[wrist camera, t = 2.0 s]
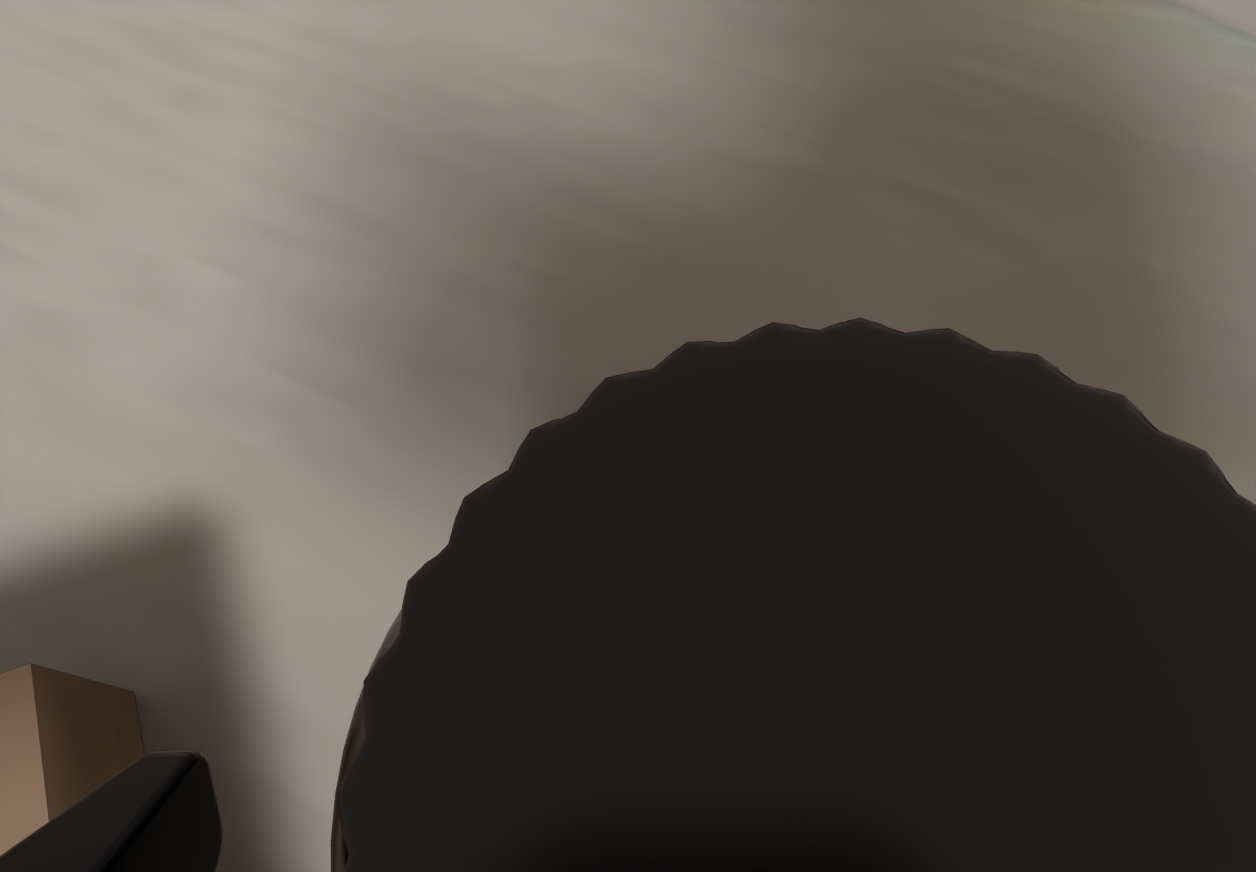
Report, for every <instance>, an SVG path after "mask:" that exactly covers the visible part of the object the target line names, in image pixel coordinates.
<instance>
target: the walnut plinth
mask: <svg viewBox="0 0 1256 872" xmlns="http://www.w3.org/2000/svg"><path fill="white" fill-rule="evenodd" d="M143 755H144V752H143V746H142V740H141V733H140V727H139V721H138V714H137V708H136V702H135V695H134V692H133V691H129V690H126V689H122V688H118V687H115V686H111V685H107V684H104V683H100V682H96V681H93V680H89V679H85V678H82V677H78V676H74V675H71V674H67V673H63V672H60V671H56V670H52V669H49V668H45V667H41V666H38V665H34V664H28V665H25V666H22V667H19V668H16V669H13V670H10V671H7V672H4V673H1V674H0V856H1V855H2V854H3V853H5V852H6V851H8V850H9V849H11V848H12V847H13V846H15V845H16V844H18V843H19V842H20V841H22V840H23V839H25V838H26V837H28V836H29V835H30V834H32V833H33V832H35V831H36V830H38V829H39V828H40V827H42V826H43V825H45V824H46V823H47V822H49V821H50V820H52V819H53V818H55V817H56V816H57V815H59V814H60V813H62V812H63V811H64V810H66V809H67V808H69V807H70V806H72V805H73V804H74V803H76V802H77V801H79V800H80V799H82V798H83V797H84V796H86V795H87V794H89V793H90V792H91V791H93V790H94V789H96V788H97V787H99V786H100V785H101V784H103V783H104V782H106V781H107V780H109V779H110V778H111V777H113V776H114V775H116V774H117V773H118V772H120V771H121V770H123V769H124V768H126V767H127V766H128V765H130V764H131V763H133V762H134V761H135V760H137V759H138V758H140V757H142V756H143Z"/></svg>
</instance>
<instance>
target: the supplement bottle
mask: <svg viewBox="0 0 1256 872" xmlns="http://www.w3.org/2000/svg"><path fill="white" fill-rule="evenodd" d="M331 872H1256V505H1255V504H1254V503H1252V502H1250V501H1249V500H1247V499H1245V498H1244V497H1242V496H1240V495H1239V494H1237V493H1236V491H1235V490H1234V489H1233V487H1232V486H1231V485H1230V484H1229V482H1228V481H1227V480H1226V478H1225V476H1224V474H1223V472H1222V471H1221V470H1220V468H1219V467H1218V466H1217V465H1216V463H1215V462H1214V461H1213V459H1212V458H1211V457H1210V456H1209V454H1208V453H1207V452H1206V451H1204V450H1201V449H1199V448H1197V447H1195V446H1193V445H1191V444H1189V443H1187V442H1185V441H1182V440H1180V439H1177V438H1175V437H1173V436H1170V435H1168V434H1165V433H1163V432H1160V431H1159V430H1158V429H1157V428H1156V427H1154V426H1153V425H1152V424H1151V423H1150V422H1149V421H1148V420H1147V419H1146V418H1145V416H1144V415H1143V414H1142V412H1141V411H1140V410H1139V409H1138V408H1137V407H1136V406H1134V405H1133V404H1132V403H1131V402H1130V401H1129V400H1128V399H1127V398H1126V397H1125V396H1124V395H1120V394H1117V393H1113V392H1110V391H1107V390H1103V389H1099V388H1095V387H1090V386H1086V385H1081V384H1077V383H1075V382H1074V381H1073V380H1071V379H1070V378H1068V377H1067V376H1066V375H1064V374H1063V373H1061V372H1060V370H1059V369H1058V368H1057V367H1055V366H1054V365H1052V364H1051V363H1049V362H1048V361H1046V360H1045V359H1044V358H1042V357H1041V356H1039V355H1038V354H1031V353H1022V352H1011V351H991V350H990V349H988V348H986V347H984V346H982V345H981V344H979V343H977V342H975V341H974V340H972V339H970V338H968V337H966V336H964V335H962V334H960V333H958V332H956V331H954V330H951V329H949V328H947V329H930V330H922V331H915V332H908V333H904V332H901V331H897V330H894V329H891V328H888V327H886V326H884V325H882V324H879V323H876V322H873V321H869V320H866V319H863V318H857V319H853V320H849V321H845V322H841V323H838V324H835V325H832V326H829V327H826V328H823V329H820V330H816V329H808V328H802V327H799V326H796V325H790V324H782V323H774V322H772V323H770V324H768V325H766V326H763V327H761V328H759V329H757V330H755V331H753V332H751V333H749V334H747V335H746V336H744V337H742V338H740V339H739V340H737V341H735V342H712V341H701V342H687V343H685V344H684V345H683V346H681V347H680V348H678V349H677V350H676V351H674V352H673V353H671V354H670V355H669V356H668V357H666V358H665V359H664V360H663V361H662V362H661V363H660V364H658V365H657V366H656V367H655V368H654V369H650V370H643V371H636V372H629V373H625V374H620V375H616V376H612V377H607V378H605V379H604V380H603V382H602V383H601V384H600V385H599V386H598V387H597V388H596V389H595V390H594V391H593V392H592V393H591V394H590V396H589V397H588V398H587V400H586V401H585V402H584V404H583V405H582V406H581V408H580V409H579V410H578V411H577V412H575V413H573V414H571V415H569V416H566V417H564V418H561V419H556V420H552V421H550V422H547V423H545V424H543V425H540V426H538V427H536V428H534V429H531V430H530V432H529V433H528V435H527V436H526V438H525V440H524V441H523V443H522V444H521V446H520V447H519V449H518V451H517V453H516V455H515V457H514V459H513V461H512V463H511V466H510V468H509V470H508V471H506V472H504V473H502V474H500V475H499V476H497V477H495V478H493V479H492V480H490V481H488V482H486V483H484V484H483V485H482V486H480V487H479V488H477V489H476V490H474V491H473V492H471V493H470V494H468V495H467V496H465V497H464V498H463V501H462V503H461V506H460V508H459V511H458V513H457V516H456V518H455V522H454V525H453V529H452V533H451V536H450V540H449V543H448V545H447V546H446V547H445V548H444V549H443V550H442V551H441V552H440V553H439V554H438V555H437V556H436V557H434V558H433V559H431V560H429V561H428V562H426V563H425V564H424V565H423V566H422V567H421V568H420V569H419V570H418V571H417V572H416V573H415V574H414V575H413V576H412V577H411V578H410V579H409V580H408V581H407V586H406V590H405V595H404V600H403V605H402V609H401V611H400V612H399V614H398V616H397V617H396V619H395V621H394V622H393V624H392V626H391V627H390V629H389V631H388V633H387V635H386V637H385V639H384V641H383V643H382V645H381V647H380V649H379V651H378V653H377V655H376V657H375V659H374V661H373V663H372V665H371V667H370V670H369V673H368V675H367V677H366V678H365V680H364V686H363V688H362V691H361V694H360V696H359V699H358V702H357V704H356V707H355V710H354V714H353V717H352V721H351V725H350V728H349V732H348V735H347V739H346V742H345V746H344V749H343V755H342V760H341V765H340V771H339V776H338V782H337V787H336V792H335V801H334V812H333V823H332V833H331Z"/></svg>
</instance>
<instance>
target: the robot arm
mask: <svg viewBox="0 0 1256 872" xmlns="http://www.w3.org/2000/svg"><path fill="white" fill-rule="evenodd" d="M222 840H223V828H222V821H221V817H220V812H219V807H218V803H217V798H216V793H215V789H214V784H213V779H212V775H211V770H210V766H209V763H208V760H207V758H206V757H205V755H204V754H203V753H201V752H199V751H196V750H163V751H153V752H149V753H147V754H145V755H143V756H142V757H140V758H138V759H137V760H135V761H134V762H133V763H131V764H130V765H128V766H127V767H126V768H124V769H123V770H121V771H120V772H118V773H117V774H116V775H114V776H113V777H111V778H110V779H109V780H107V781H106V782H104V783H103V784H101V785H100V786H99V787H97V788H96V789H94V790H93V791H91V792H90V793H89V794H87V795H86V796H84V797H83V798H82V799H80V800H79V801H77V802H76V803H74V804H73V805H72V806H70V807H69V808H67V809H66V810H64V811H63V812H62V813H60V814H59V815H57V816H56V817H55V818H53V819H52V820H50V821H49V822H47V823H46V824H45V825H43V826H42V827H40V828H39V829H38V830H36V831H35V832H33V833H32V834H30V835H29V836H28V837H26V838H25V839H23V840H22V841H20V842H19V843H18V844H16V845H15V846H13V847H12V848H11V849H9V850H8V851H6V852H5V853H3V854H2V855H1V856H0V872H215V871H216V868H217V864H218V861H219V858H220V854H221V848H222Z"/></svg>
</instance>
